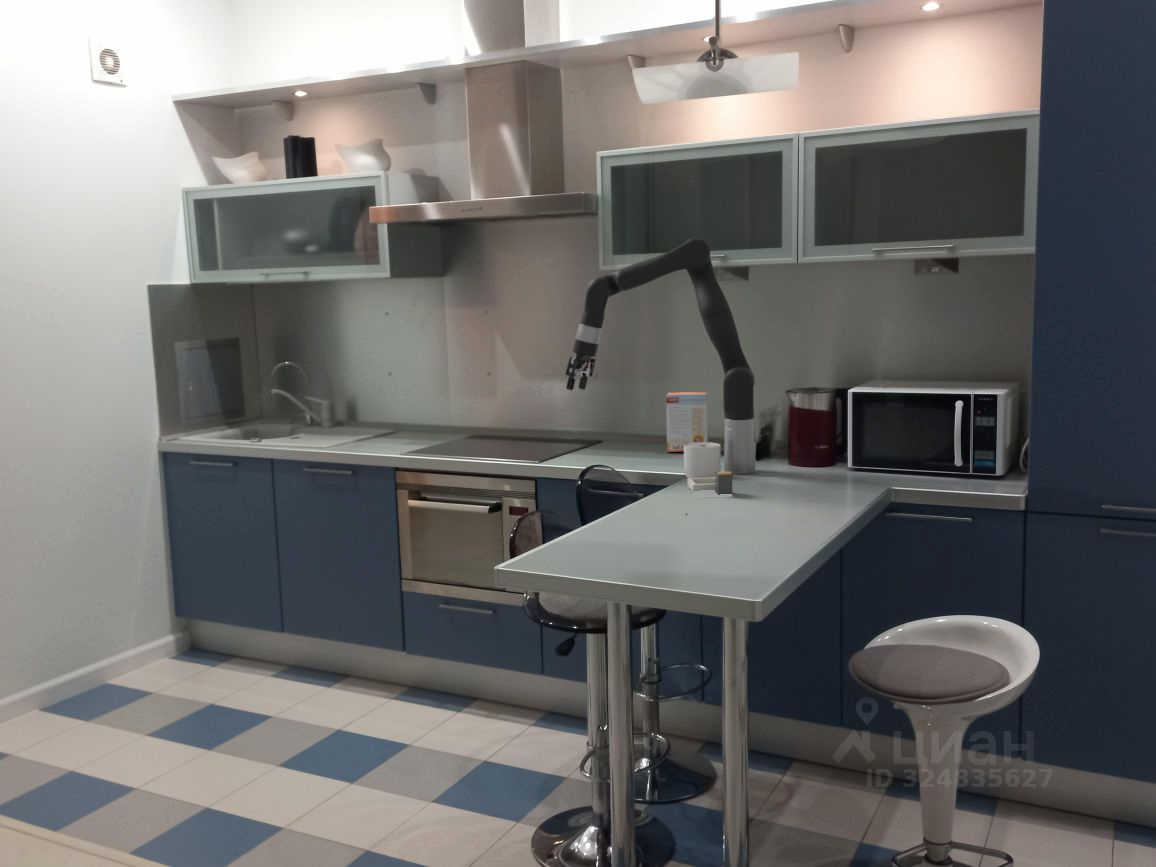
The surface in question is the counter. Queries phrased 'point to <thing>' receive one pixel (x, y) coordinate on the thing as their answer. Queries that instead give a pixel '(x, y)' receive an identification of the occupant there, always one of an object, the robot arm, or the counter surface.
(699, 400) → the cracker box
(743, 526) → the counter surface
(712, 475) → the toilet tissue
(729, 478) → the plug
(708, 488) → the cream rectangular tray
